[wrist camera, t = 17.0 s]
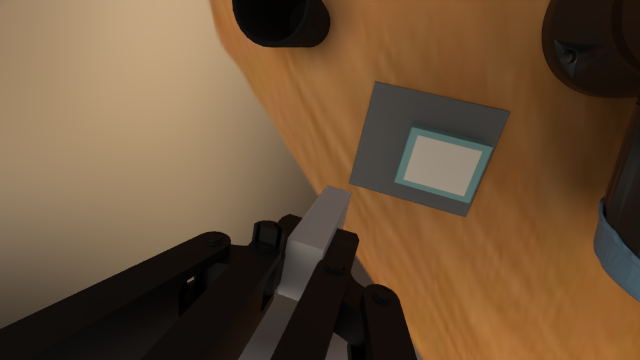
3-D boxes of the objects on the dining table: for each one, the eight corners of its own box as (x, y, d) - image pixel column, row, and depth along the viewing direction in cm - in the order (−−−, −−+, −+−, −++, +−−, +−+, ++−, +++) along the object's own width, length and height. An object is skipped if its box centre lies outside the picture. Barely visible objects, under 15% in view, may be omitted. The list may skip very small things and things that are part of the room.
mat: (375, 81, 39) (375, 81, 38) (509, 111, 36) (510, 111, 35) (349, 182, 44) (349, 183, 43) (465, 216, 41) (465, 217, 40)
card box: (394, 182, 38) (469, 204, 36) (412, 127, 35) (493, 147, 34) (395, 174, 41) (464, 193, 40) (411, 123, 39) (485, 141, 37)
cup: (335, -18, 37) (304, -60, 26) (341, 50, 39) (315, 39, 28) (275, -4, 39) (223, -38, 28) (285, 60, 41) (240, 52, 30)
